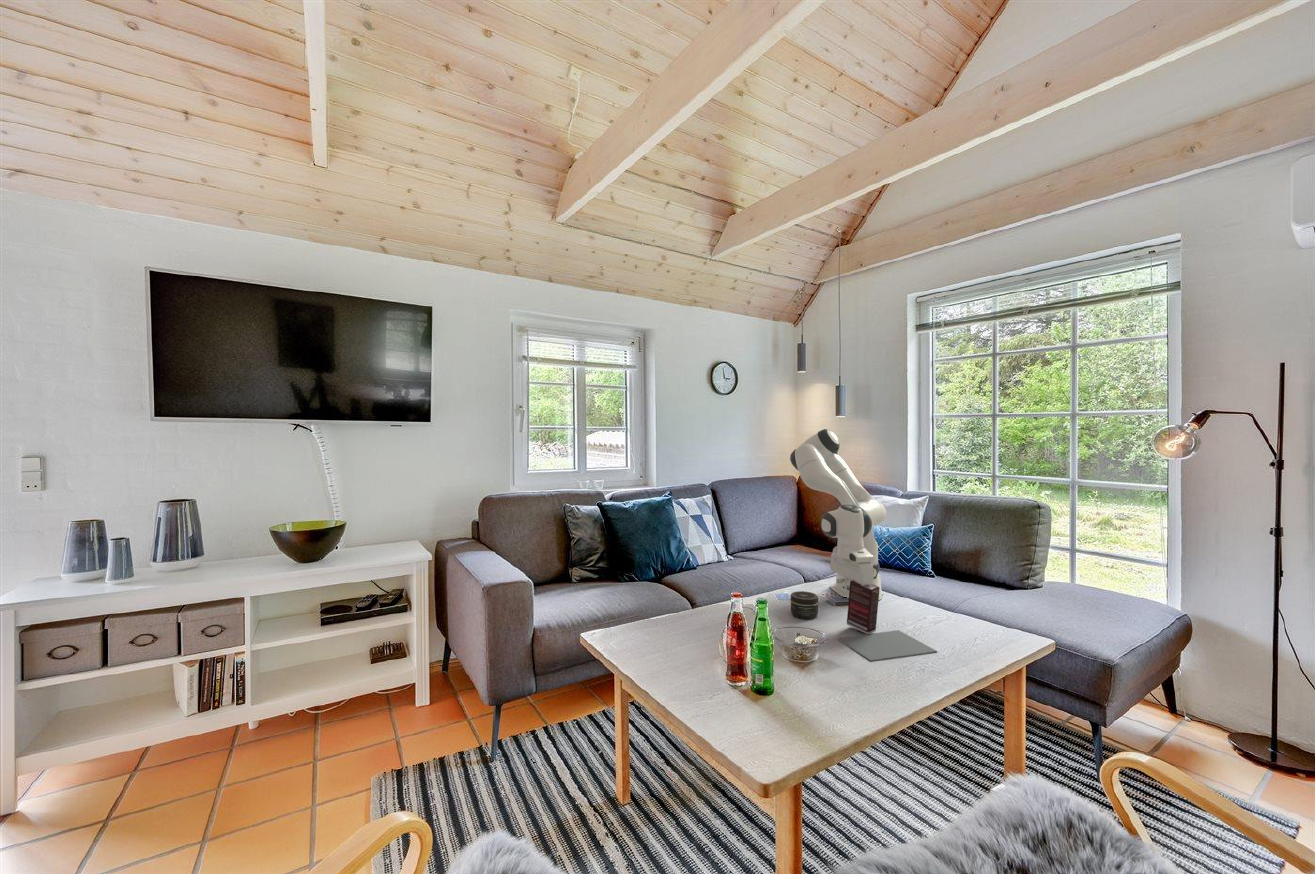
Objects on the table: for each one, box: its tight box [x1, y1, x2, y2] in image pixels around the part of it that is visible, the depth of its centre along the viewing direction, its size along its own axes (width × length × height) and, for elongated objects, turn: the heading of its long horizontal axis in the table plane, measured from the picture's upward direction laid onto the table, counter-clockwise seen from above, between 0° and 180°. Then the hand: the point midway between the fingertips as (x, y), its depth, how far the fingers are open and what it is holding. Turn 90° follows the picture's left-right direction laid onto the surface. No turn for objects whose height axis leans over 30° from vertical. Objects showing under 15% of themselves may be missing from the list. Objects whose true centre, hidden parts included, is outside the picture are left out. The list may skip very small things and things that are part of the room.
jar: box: [790, 590, 819, 621], centre depth 194 cm, size 10×10×8 cm
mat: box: [836, 629, 938, 662], centre depth 167 cm, size 17×24×1 cm
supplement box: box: [846, 580, 880, 634], centre depth 178 cm, size 9×5×16 cm, turn 35°
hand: (850, 590), depth 184 cm, fingers closed
